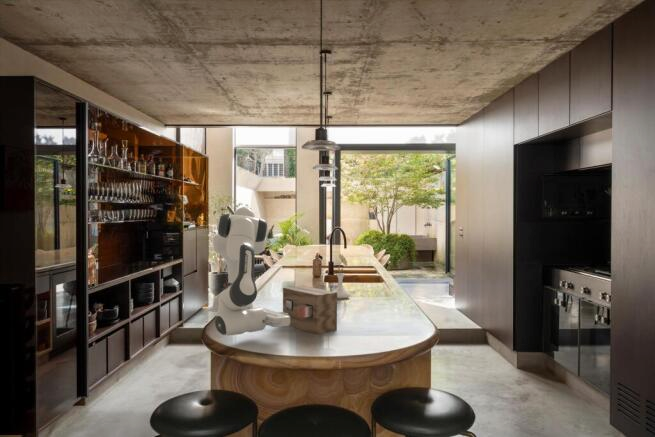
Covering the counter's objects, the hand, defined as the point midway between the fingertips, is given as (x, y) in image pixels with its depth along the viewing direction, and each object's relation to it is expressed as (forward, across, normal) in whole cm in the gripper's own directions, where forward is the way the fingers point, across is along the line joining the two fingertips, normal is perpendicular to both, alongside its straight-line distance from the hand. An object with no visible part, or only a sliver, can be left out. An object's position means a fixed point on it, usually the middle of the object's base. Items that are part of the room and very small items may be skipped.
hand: (286, 314), depth 203 cm
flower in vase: (+74, +51, +9) cm, 90 cm away
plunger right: (+11, 0, +2) cm, 11 cm away
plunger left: (+15, +14, +2) cm, 21 cm away
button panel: (+17, +7, +9) cm, 20 cm away
